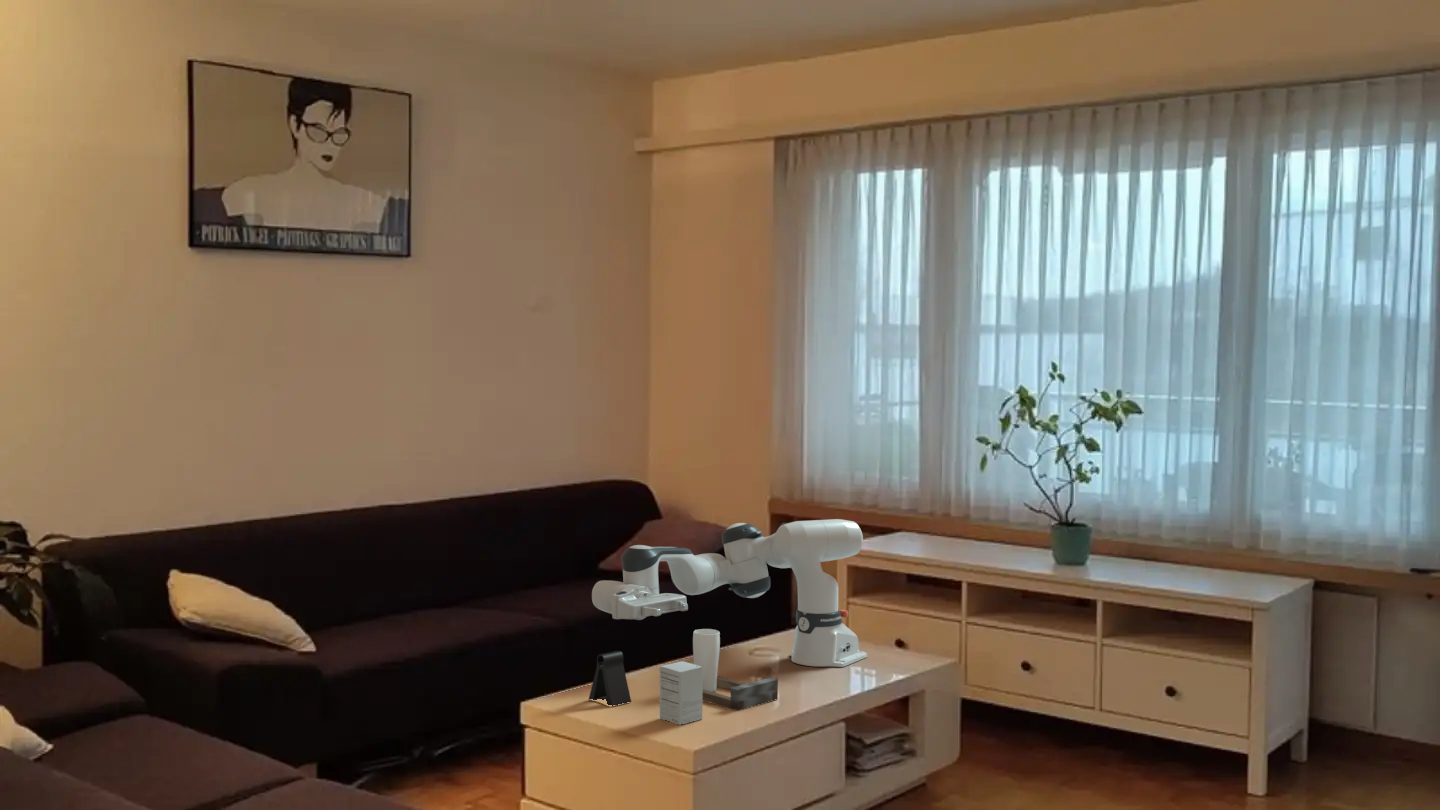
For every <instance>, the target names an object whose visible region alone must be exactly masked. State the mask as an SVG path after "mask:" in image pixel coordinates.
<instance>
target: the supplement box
mask: <svg viewBox="0 0 1440 810" xmlns="http://www.w3.org/2000/svg"><path fill="white" fill-rule="evenodd" d="M702 678H703V667H701V666H698V665H694V663H691V662H690V663H689V662H686V661H683V660H682V661H678V662H673V663H668V664H664V665H660V666H659V719H660V718H661V719H660V720H662V719H664V720H663V721H665V720H667V721H666V722H668V721H670V722H669V723H671V722H673V723H672V724H674V723H676V724H675V725H677V724H679V725H678V726H682V725H681V724H683V725H686V724H689V722H690V723H694V722H697V720H698V721H700V719H701V720H703V700H702V681H703V680H702ZM693 721H694V722H693Z"/></svg>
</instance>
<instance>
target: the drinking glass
mask: <svg viewBox="0 0 1440 810" xmlns="http://www.w3.org/2000/svg"><path fill="white" fill-rule="evenodd" d="M692 635H693V636H692V653H693V664H694V665H698V666H701V667H703V678H702V680H703V681H702V689H703V690H707V691H710V692H714V693H715V691H717V687H718V686H717V676H718V673H719V672H718V670H719V660H720V658H719V657H720V650H721V649H720V647H721V646H720V645H721V637H720V635H721V633H720V631H719V630H717V629H712V628H702V629H701V628H700V629H695V630H694V631H693V634H692Z"/></svg>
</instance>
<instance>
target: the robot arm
mask: <svg viewBox="0 0 1440 810" xmlns="http://www.w3.org/2000/svg"><path fill="white" fill-rule="evenodd" d="M762 533H764V530H760V529H758V527H756V526H755V525H753V524H752V523H749V522H748V523H746V522H737V523H734V524H731V525H729V526H728V527H727V528H726V529H724V530H723V531H722V533H721V544H722V545H723V550H724V555H725V556H723V555H722V554H720V553H716V552H715V553H714V552H712V553H711V552H709V553H708V552H707V553H700V554H697V555H696V554H695V555H694V554H693V552H692V550H691V549H690V548H686V547H681V546H680V547H679V546H649V545H645V544H636V545H635V544H634V545H632V546H628V547H627V548H626V549H625V550H624V552H623V553H622V554H621V556H620V560H621V568H622V577H623V578H622V579H623V581H618V580H605V579H603V580H598V581H597V582H596V583H595V584H594V586H593V588H592V591H591V601H592V604H593V606H594V607H595V608H596V609H598V610H600V611H603V612H605V613H608V614H611V615H612V619H614V620H636V621H641V620H644V619H645V618H647V617H651V616H654V617H659V616H661V615H662V614H667V613H672V612H677V611H679V612H686V611H688V610H689V605H688V603H687V596H686V595H689V596H695V595H701V594H705V593H708V592H711V591H712V590H714V589H717V588H718V587H721V586H723V585H727V584H729V585H730V586H731V587H729V588H728V590H729V591H732V592H734V593H735V594H736V595H738V596H739V597H742V598H748V599H755V598H759V597H760V596H762V595H764V594H765V593H766V592H767V591H769V590H770V588H771V576H769V575H770V574H769V571H768V566H770V567H773V568H779V569H788V568H789V569H792V571H793V574H794V577H795V580H796V586H797V609H796V611H795V612H796V613H795V622H796V624H797V625H796V627H795V628H794V637H793V647H792V651H790V654H789V655H790V656H791V660H790V661H792V663H795V664H798V665H802V666H808V667H834V668H835V667H838V668H843V667H847V666H848V665H851V664H853V663H856V662H858V661H861V660H863V659H866V658H867V657H868V653H867V652H865V651H863V650H859V649H860V648H859V639H858V636H857V634H856V633H855V632H854V631H852V629H850V628H849V627H847V626H846V625H845V624H844V623H843V619H842V618H844V619H845V618H846V619H847V618H848V616H849V611H848V610H847V609H846V610H844V609H839V584H838V581H837V580H836V579H835V577H833V576H832V575H831V574H829V573H828V572H824V571H823V568H822V564H821V563H825V562H830V561H831V562H832V561H836V560H837V561H838V560H842V559H846V558H849V557H853V556H856V555H858V554H859V553H860V552H861V549H862V547H863V542H864V536H863V532H862V530H861V527H860V526H859V524H858V523H857V522H855V521H852V520H846V519H840V518H835V519H815V520H814V519H812V520H797V521H796V520H795V521H792V522H788V523H784V524H781V525H780V526H779V527H778V528H777V530H776V532H775V533H773V534H771V535H768V536H764V535H762ZM660 562H666V563H667V565H668V568H669V571H670V576H671V581H672V583H673V585H675V587H676V588H677V590H679V591H680V592H681V593H683V594H679V593H670V592H669V593H668V592H664V593H660V584H659V564H660ZM767 564H768V565H767Z"/></svg>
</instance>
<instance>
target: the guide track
mask: <svg viewBox="0 0 1440 810" xmlns="http://www.w3.org/2000/svg"><path fill="white" fill-rule="evenodd" d="M778 681H779V680H778V679H776V678H773V677H768V678H764V679H760V680H756V681H752V682H749V683H748V682H742V681H738V680H735V679H730V678H727V677H723V676H719V675H717V687H718V688H721V687H722V689H726V690H728V691H729V690H730V695H725V694H721V693H719V692H715V691H714V692H710V691H707V690H703V689H702V701H703V700H704V701H703V702H706V701H707V703H710V702H711V703H710V704H713V703H714V704H713V705H717V704H718V705H717V706H720V705H721V707H725V708H727V707H728V708H727V709H731V710H734V709H735V711H741V709H742V710H745V709H748V708H747V707H749V708H752V707H751V706H753V707H755V705H756V706H759V705H758V704H760V705H763V704H762V703H764V704H766V703H765V702H767V703H769V702H768V701H771V700H774V701H776V700H775V699H778V692H779V691H778V687H779V682H778ZM771 702H772V701H771ZM744 708H745V709H744Z"/></svg>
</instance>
